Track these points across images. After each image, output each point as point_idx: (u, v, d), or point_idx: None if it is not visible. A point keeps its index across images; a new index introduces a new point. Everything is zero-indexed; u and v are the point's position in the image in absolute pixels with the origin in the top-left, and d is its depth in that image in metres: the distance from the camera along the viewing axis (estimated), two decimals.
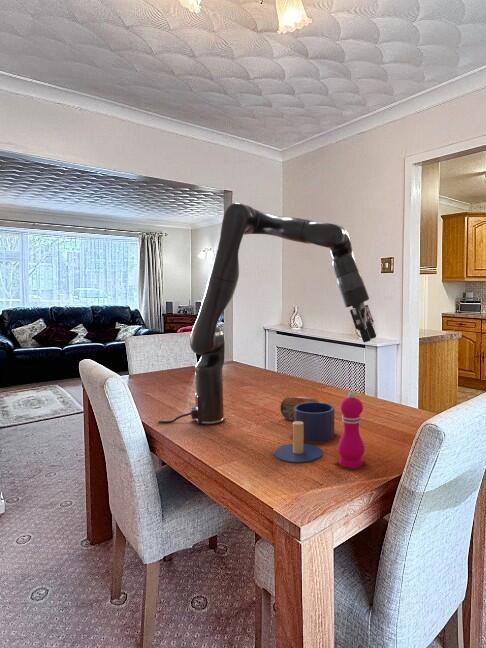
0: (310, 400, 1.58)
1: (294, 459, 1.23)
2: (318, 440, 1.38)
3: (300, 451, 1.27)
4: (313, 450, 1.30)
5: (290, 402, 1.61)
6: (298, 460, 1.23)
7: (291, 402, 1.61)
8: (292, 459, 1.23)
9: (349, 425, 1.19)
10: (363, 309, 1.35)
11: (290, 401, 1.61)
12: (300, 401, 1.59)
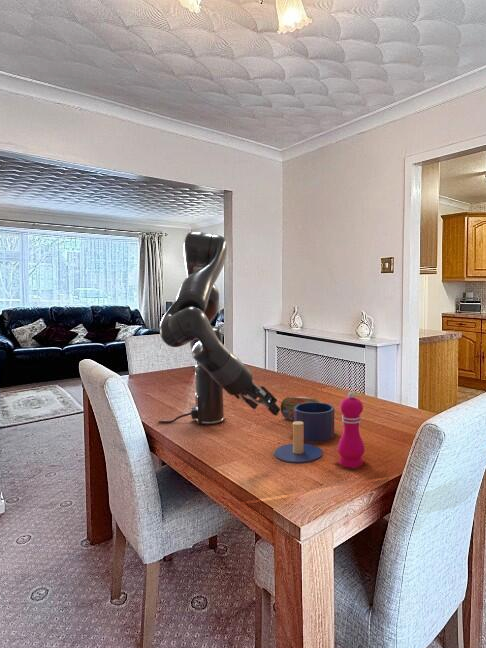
0: (310, 400, 1.58)
1: (294, 459, 1.23)
2: (318, 440, 1.38)
3: (300, 451, 1.27)
4: (313, 450, 1.30)
5: (290, 402, 1.61)
6: (298, 460, 1.23)
7: (291, 402, 1.61)
8: (292, 459, 1.23)
9: (349, 425, 1.19)
10: None
11: (290, 401, 1.61)
12: (300, 401, 1.59)
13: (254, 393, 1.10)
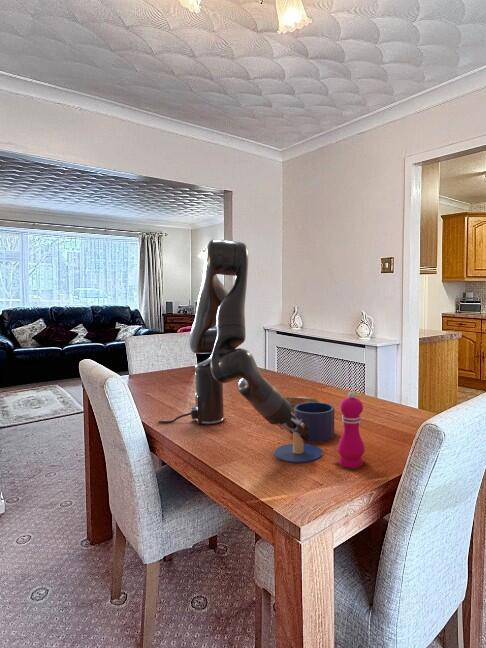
0: (310, 400, 1.58)
1: (294, 459, 1.23)
2: (318, 440, 1.38)
3: (300, 451, 1.27)
4: (313, 450, 1.30)
5: (290, 402, 1.61)
6: (298, 460, 1.23)
7: (291, 402, 1.61)
8: (292, 459, 1.23)
9: (349, 425, 1.19)
10: None
11: (290, 401, 1.61)
12: (300, 401, 1.59)
13: (292, 422, 1.20)
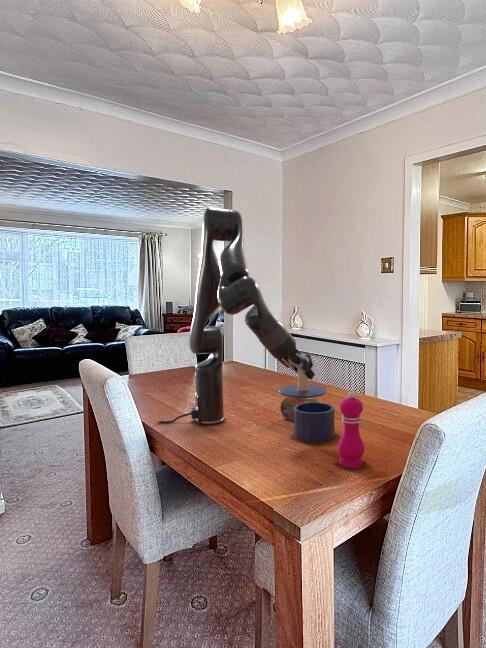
0: (310, 400, 1.58)
1: (299, 394, 1.26)
2: (318, 440, 1.38)
3: (305, 389, 1.30)
4: (317, 389, 1.32)
5: (290, 402, 1.61)
6: (303, 395, 1.25)
7: (291, 402, 1.61)
8: (297, 394, 1.26)
9: (349, 425, 1.19)
10: None
11: (290, 401, 1.61)
12: (300, 401, 1.59)
13: (297, 357, 1.23)
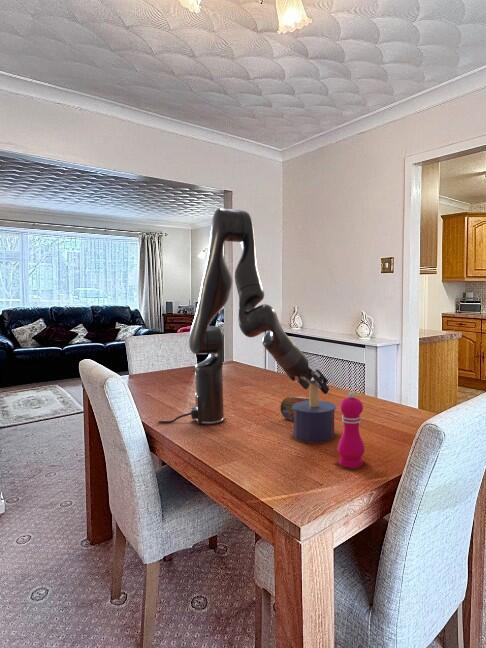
0: None
1: (311, 411, 1.38)
2: (318, 440, 1.38)
3: (316, 405, 1.42)
4: (327, 405, 1.44)
5: (290, 402, 1.61)
6: (315, 411, 1.37)
7: (291, 402, 1.61)
8: (309, 411, 1.38)
9: (349, 425, 1.19)
10: None
11: (290, 401, 1.61)
12: (300, 401, 1.59)
13: (310, 375, 1.35)
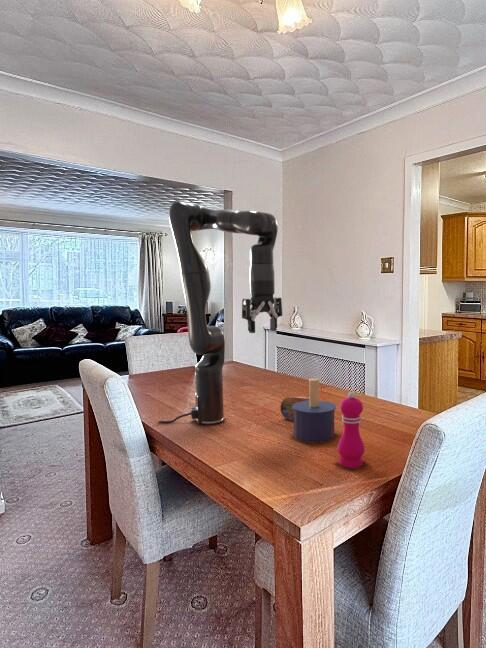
0: None
1: (311, 411, 1.38)
2: (318, 440, 1.38)
3: (316, 405, 1.42)
4: (327, 405, 1.44)
5: (290, 402, 1.61)
6: (315, 411, 1.37)
7: (291, 402, 1.61)
8: (309, 411, 1.38)
9: (349, 425, 1.19)
10: (261, 302, 1.39)
11: (290, 401, 1.61)
12: (300, 401, 1.59)
13: (274, 300, 1.44)
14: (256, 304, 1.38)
